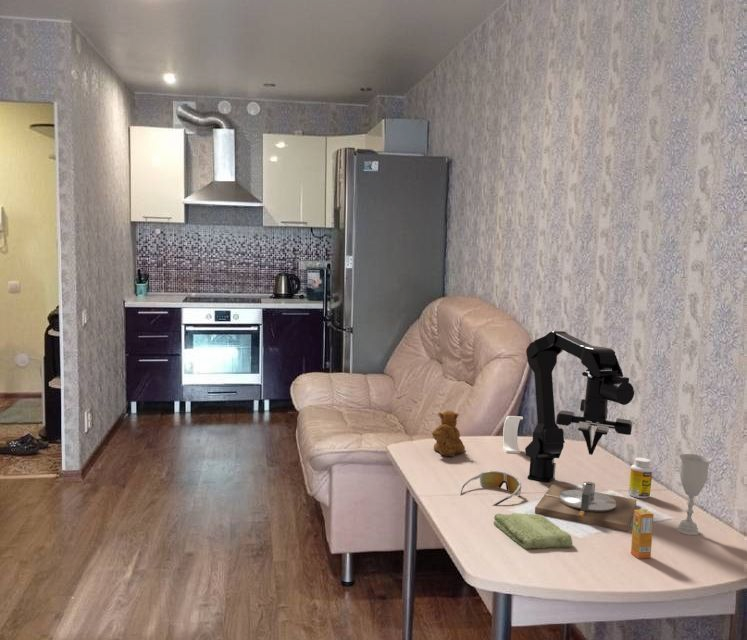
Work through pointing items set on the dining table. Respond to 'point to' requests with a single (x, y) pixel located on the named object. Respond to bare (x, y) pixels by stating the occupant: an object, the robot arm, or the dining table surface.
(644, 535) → the supplement box
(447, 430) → the brown teddy bear
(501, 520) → the washcloth
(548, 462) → the robot arm
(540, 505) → the dial base
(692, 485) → the chalice
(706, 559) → the dining table surface
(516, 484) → the sunglasses
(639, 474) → the supplement bottle
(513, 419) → the headphone stand
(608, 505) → the dial
